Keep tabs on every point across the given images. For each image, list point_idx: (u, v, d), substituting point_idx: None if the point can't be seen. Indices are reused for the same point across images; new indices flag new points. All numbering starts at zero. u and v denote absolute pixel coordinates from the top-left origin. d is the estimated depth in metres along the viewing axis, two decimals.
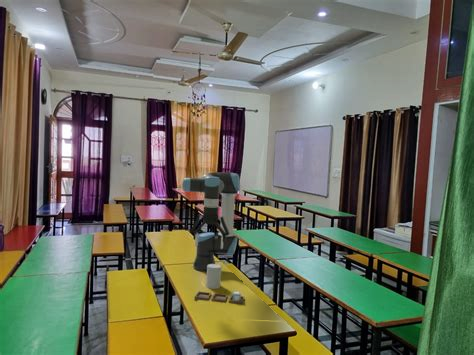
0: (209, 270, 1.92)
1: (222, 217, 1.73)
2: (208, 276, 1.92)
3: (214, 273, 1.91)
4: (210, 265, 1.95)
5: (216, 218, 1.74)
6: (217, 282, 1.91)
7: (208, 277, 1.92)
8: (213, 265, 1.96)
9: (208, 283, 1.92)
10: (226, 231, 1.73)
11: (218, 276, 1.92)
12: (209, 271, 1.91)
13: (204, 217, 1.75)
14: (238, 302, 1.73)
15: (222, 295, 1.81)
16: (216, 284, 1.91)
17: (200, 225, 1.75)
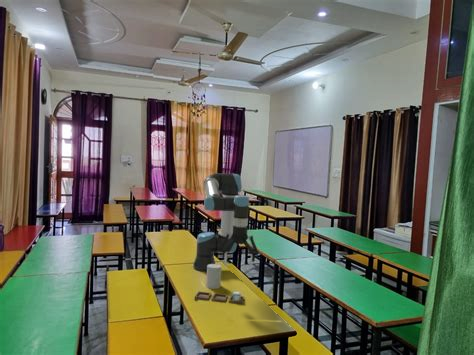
0: (209, 270, 1.92)
1: (252, 237, 1.73)
2: (208, 276, 1.92)
3: (214, 273, 1.91)
4: (210, 265, 1.95)
5: (245, 237, 1.73)
6: (217, 282, 1.91)
7: (208, 277, 1.92)
8: (213, 265, 1.96)
9: (208, 283, 1.92)
10: (256, 251, 1.73)
11: (218, 276, 1.92)
12: (209, 271, 1.91)
13: (233, 236, 1.74)
14: (238, 302, 1.73)
15: (222, 295, 1.81)
16: (216, 284, 1.91)
17: (229, 244, 1.75)
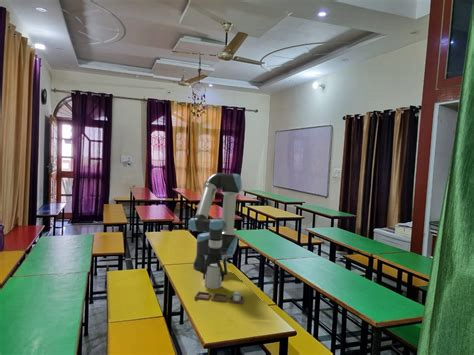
0: (209, 270, 1.92)
1: (225, 258, 1.92)
2: (208, 276, 1.92)
3: (214, 273, 1.91)
4: (210, 265, 1.95)
5: (220, 257, 1.92)
6: (217, 282, 1.91)
7: (208, 277, 1.92)
8: (213, 265, 1.96)
9: (208, 283, 1.92)
10: (225, 271, 1.92)
11: (218, 276, 1.92)
12: (209, 271, 1.91)
13: (209, 256, 1.93)
14: (238, 302, 1.73)
15: (222, 295, 1.81)
16: (216, 284, 1.91)
17: (207, 265, 1.93)
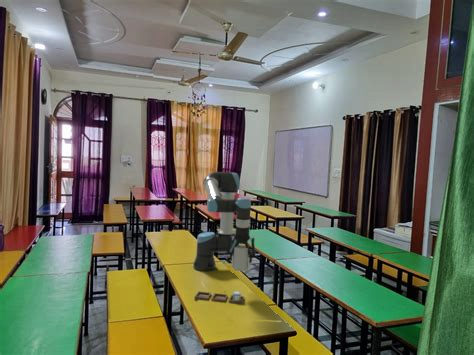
0: (236, 251, 1.82)
1: (253, 239, 1.82)
2: (235, 257, 1.82)
3: (242, 254, 1.81)
4: (237, 246, 1.85)
5: (247, 238, 1.83)
6: (245, 264, 1.82)
7: (236, 258, 1.82)
8: (240, 246, 1.86)
9: (235, 265, 1.82)
10: (253, 252, 1.82)
11: (246, 257, 1.82)
12: (237, 252, 1.82)
13: (236, 237, 1.84)
14: (238, 302, 1.73)
15: (222, 295, 1.81)
16: (244, 266, 1.82)
17: (234, 246, 1.84)
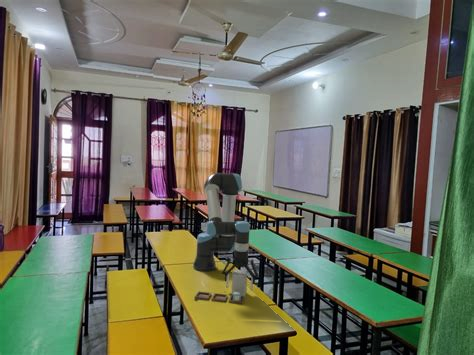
0: (234, 277, 1.82)
1: (252, 260, 1.83)
2: (234, 283, 1.83)
3: (240, 280, 1.81)
4: (235, 272, 1.86)
5: (246, 261, 1.83)
6: (243, 289, 1.83)
7: (234, 284, 1.83)
8: (238, 271, 1.86)
9: None
10: (256, 274, 1.83)
11: (244, 283, 1.83)
12: (235, 278, 1.82)
13: (235, 260, 1.84)
14: (238, 302, 1.73)
15: (222, 295, 1.81)
16: (242, 292, 1.82)
17: (231, 268, 1.85)
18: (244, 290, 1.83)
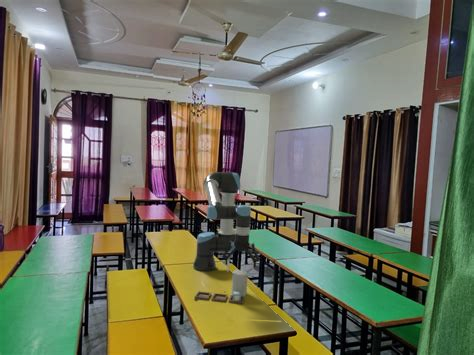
0: (235, 277, 1.82)
1: (253, 244, 1.82)
2: (234, 283, 1.83)
3: (240, 280, 1.81)
4: (236, 271, 1.86)
5: (247, 245, 1.83)
6: (243, 289, 1.83)
7: (234, 284, 1.83)
8: (239, 271, 1.86)
9: (234, 290, 1.83)
10: (257, 257, 1.83)
11: (244, 283, 1.83)
12: (235, 278, 1.82)
13: (236, 244, 1.84)
14: (238, 302, 1.73)
15: (222, 295, 1.81)
16: (242, 292, 1.82)
17: (232, 251, 1.84)
18: (244, 290, 1.83)
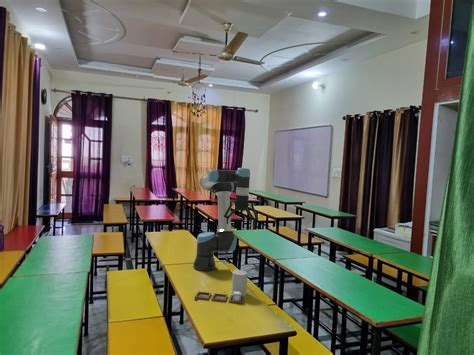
0: (234, 277, 1.82)
1: (252, 204, 1.96)
2: (234, 283, 1.83)
3: (240, 280, 1.81)
4: (236, 271, 1.86)
5: (247, 205, 1.96)
6: (243, 289, 1.83)
7: (234, 284, 1.83)
8: (239, 271, 1.86)
9: (234, 290, 1.83)
10: (256, 216, 1.96)
11: (244, 283, 1.83)
12: (235, 278, 1.82)
13: (236, 204, 1.97)
14: (238, 302, 1.73)
15: (222, 295, 1.81)
16: (242, 292, 1.82)
17: (232, 211, 1.98)
18: (244, 290, 1.83)
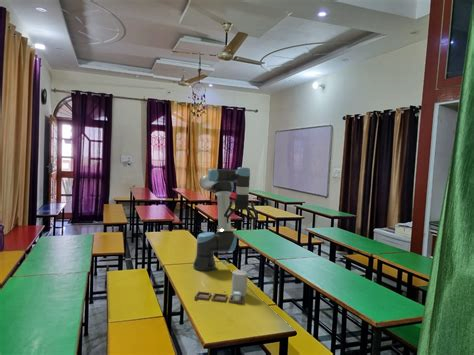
0: (234, 277, 1.82)
1: (252, 203, 1.96)
2: (234, 283, 1.83)
3: (240, 280, 1.81)
4: (236, 271, 1.86)
5: (247, 204, 1.97)
6: (243, 290, 1.83)
7: (234, 284, 1.83)
8: (239, 271, 1.86)
9: None
10: (256, 215, 1.96)
11: (244, 283, 1.83)
12: (235, 278, 1.82)
13: (236, 203, 1.97)
14: (238, 302, 1.73)
15: (222, 295, 1.81)
16: (242, 292, 1.82)
17: (233, 210, 1.98)
18: (244, 290, 1.83)
